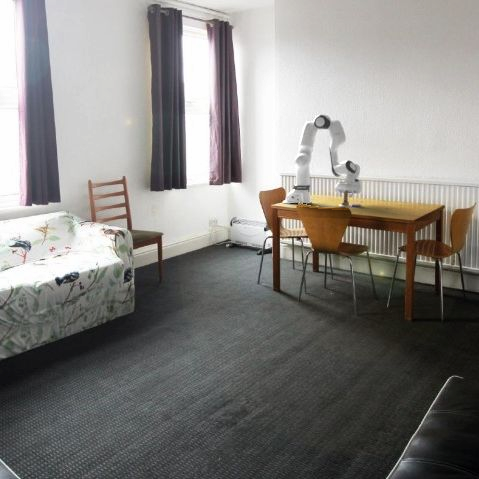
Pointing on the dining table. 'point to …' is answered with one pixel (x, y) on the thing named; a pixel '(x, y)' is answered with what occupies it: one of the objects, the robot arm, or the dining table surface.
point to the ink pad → (356, 205)
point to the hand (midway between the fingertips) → (345, 196)
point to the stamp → (345, 198)
